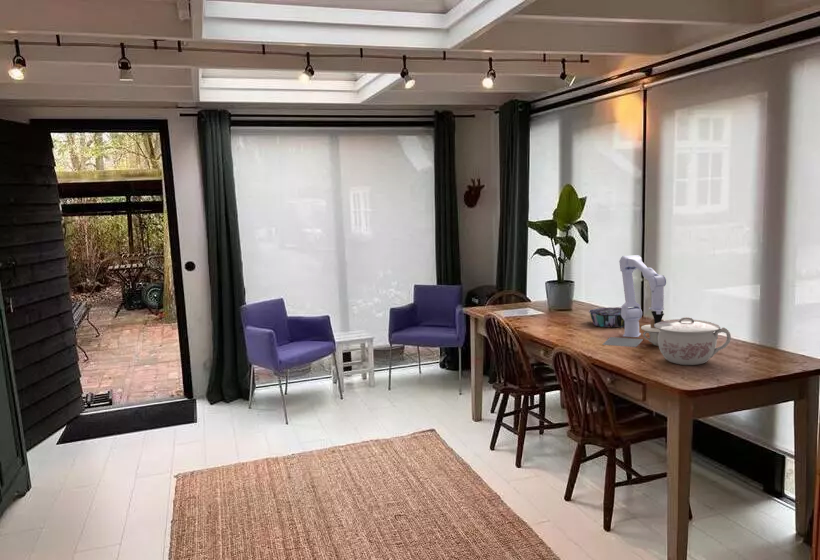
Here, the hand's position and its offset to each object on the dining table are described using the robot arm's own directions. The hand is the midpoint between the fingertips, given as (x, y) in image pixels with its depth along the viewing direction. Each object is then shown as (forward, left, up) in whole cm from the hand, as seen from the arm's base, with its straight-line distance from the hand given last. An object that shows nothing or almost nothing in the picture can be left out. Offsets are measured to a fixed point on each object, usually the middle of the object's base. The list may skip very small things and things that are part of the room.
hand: (657, 325), depth 307 cm
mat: (0, -17, -10) cm, 20 cm away
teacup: (0, 0, -10) cm, 10 cm away
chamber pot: (+28, +17, -10) cm, 34 cm away
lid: (0, 0, -2) cm, 2 cm away
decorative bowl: (-45, -33, -10) cm, 56 cm away
